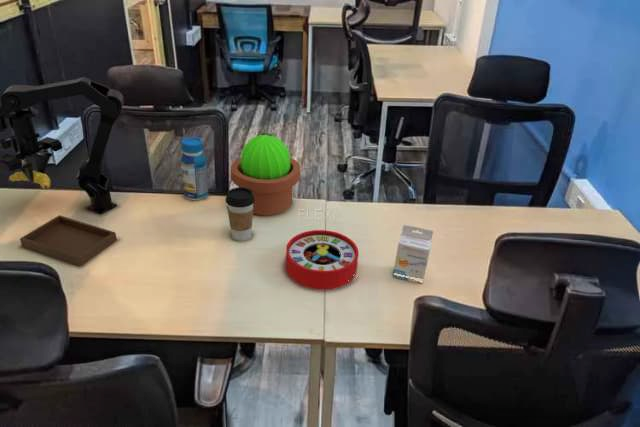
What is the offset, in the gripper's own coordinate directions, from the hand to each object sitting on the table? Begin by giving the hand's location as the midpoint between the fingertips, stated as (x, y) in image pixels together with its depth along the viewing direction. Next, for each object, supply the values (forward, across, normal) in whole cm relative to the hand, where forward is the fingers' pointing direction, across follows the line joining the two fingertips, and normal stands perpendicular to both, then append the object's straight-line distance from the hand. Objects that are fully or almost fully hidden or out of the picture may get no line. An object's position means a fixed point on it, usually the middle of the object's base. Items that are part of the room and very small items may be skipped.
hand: (36, 179), depth 154 cm
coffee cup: (+12, -16, +61) cm, 64 cm away
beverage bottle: (+12, -30, +35) cm, 48 cm away
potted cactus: (+12, -37, +59) cm, 70 cm away
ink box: (+12, -19, +112) cm, 115 cm away
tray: (+12, +10, +20) cm, 25 cm away
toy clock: (+12, -12, +89) cm, 91 cm away
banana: (+1, +1, 0) cm, 1 cm away
